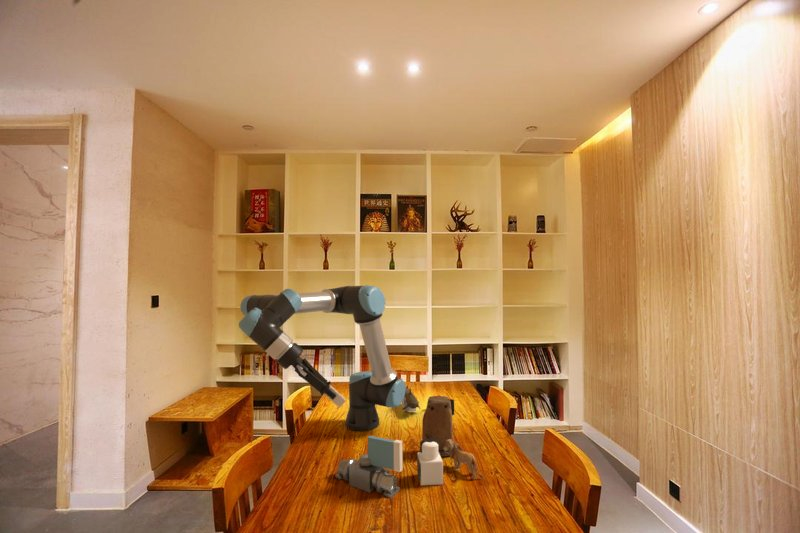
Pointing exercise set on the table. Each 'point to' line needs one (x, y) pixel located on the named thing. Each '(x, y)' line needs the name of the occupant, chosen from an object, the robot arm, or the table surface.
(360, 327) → the robot arm
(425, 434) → the brown rough block
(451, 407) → the digital camera
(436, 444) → the medicine bottle
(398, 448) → the lever
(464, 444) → the table surface
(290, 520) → the table surface
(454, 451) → the lion figurine
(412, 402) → the wood carving
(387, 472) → the valve
